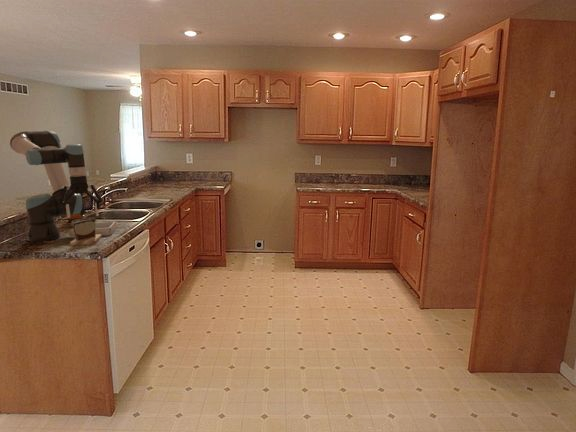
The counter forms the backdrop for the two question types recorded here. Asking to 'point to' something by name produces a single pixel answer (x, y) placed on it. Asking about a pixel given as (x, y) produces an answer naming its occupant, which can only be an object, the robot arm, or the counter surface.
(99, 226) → the bin
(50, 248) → the counter surface
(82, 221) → the food container
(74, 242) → the board
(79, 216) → the canister
